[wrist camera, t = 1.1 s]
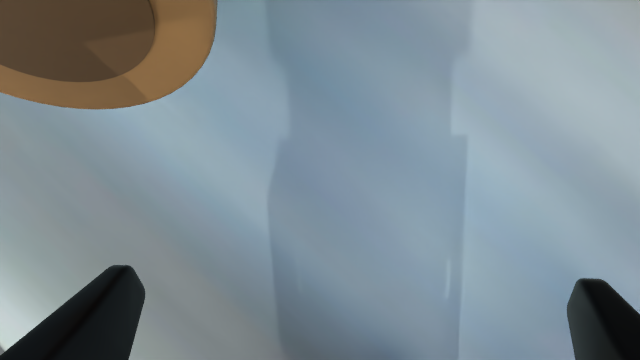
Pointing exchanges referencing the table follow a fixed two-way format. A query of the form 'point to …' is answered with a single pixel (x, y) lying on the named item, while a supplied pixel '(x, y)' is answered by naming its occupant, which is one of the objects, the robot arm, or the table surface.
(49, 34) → the paper towel roll
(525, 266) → the table surface
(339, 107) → the table surface
